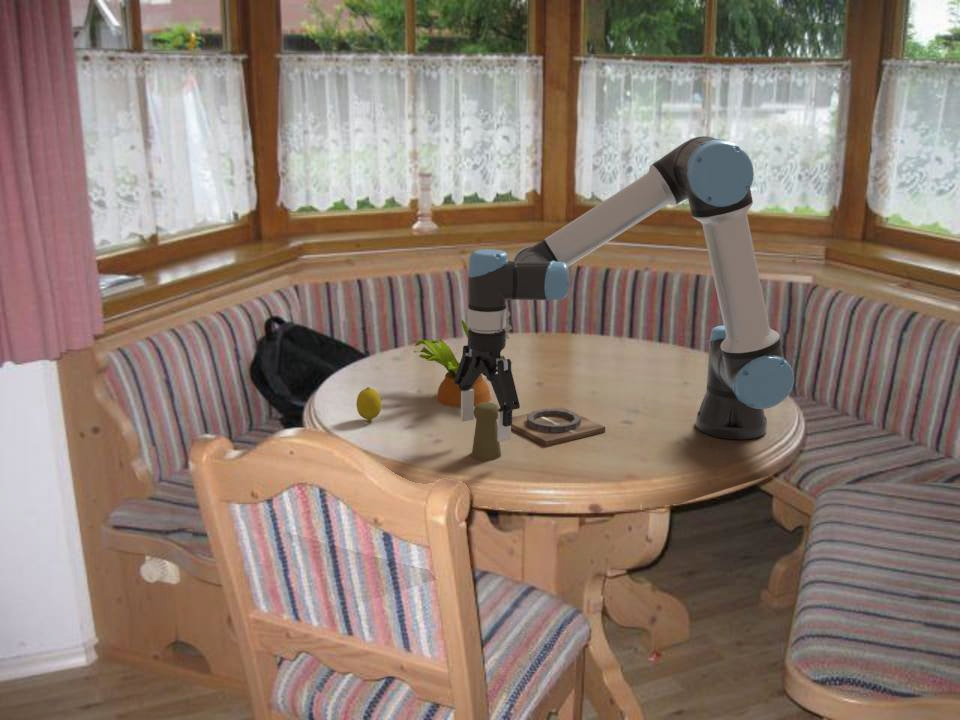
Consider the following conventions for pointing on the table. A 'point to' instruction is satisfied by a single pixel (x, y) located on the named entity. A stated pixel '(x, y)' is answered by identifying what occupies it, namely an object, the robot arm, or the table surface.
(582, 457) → the table surface
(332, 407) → the table surface
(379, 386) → the table surface
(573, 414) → the socket board
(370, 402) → the lemon
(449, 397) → the decorative plant
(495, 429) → the olive round stacked cylinder
